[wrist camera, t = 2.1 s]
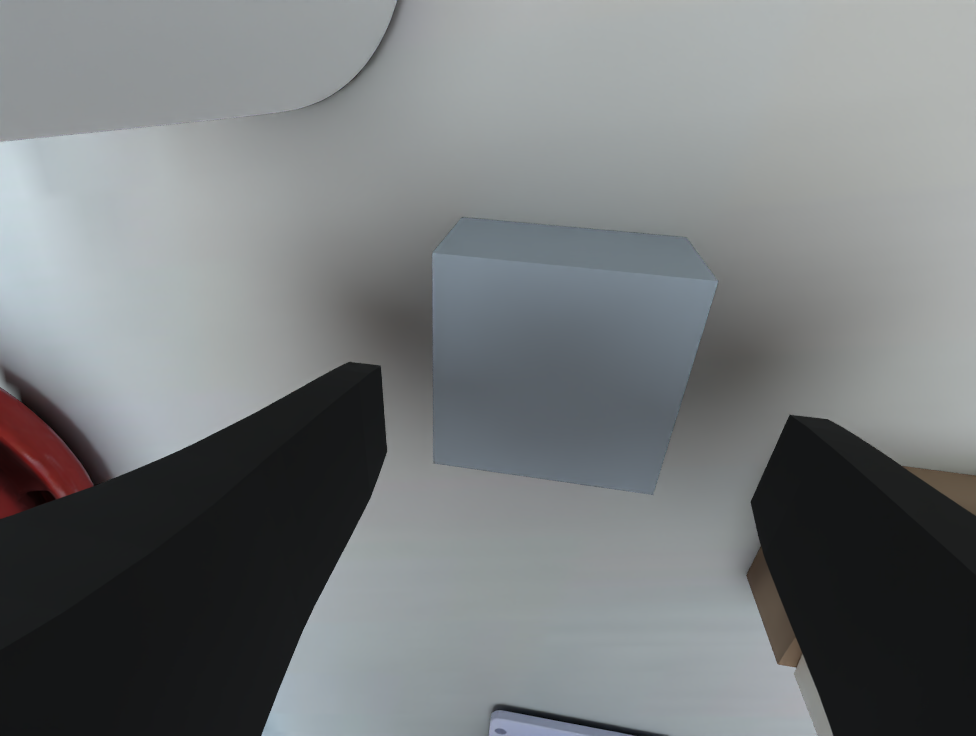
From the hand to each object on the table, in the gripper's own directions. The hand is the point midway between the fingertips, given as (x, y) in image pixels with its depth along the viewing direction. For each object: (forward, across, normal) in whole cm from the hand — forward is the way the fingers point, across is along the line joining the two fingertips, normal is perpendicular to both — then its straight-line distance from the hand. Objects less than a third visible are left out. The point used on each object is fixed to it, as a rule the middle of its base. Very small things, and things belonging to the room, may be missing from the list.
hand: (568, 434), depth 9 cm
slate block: (+4, 0, 0) cm, 4 cm away
